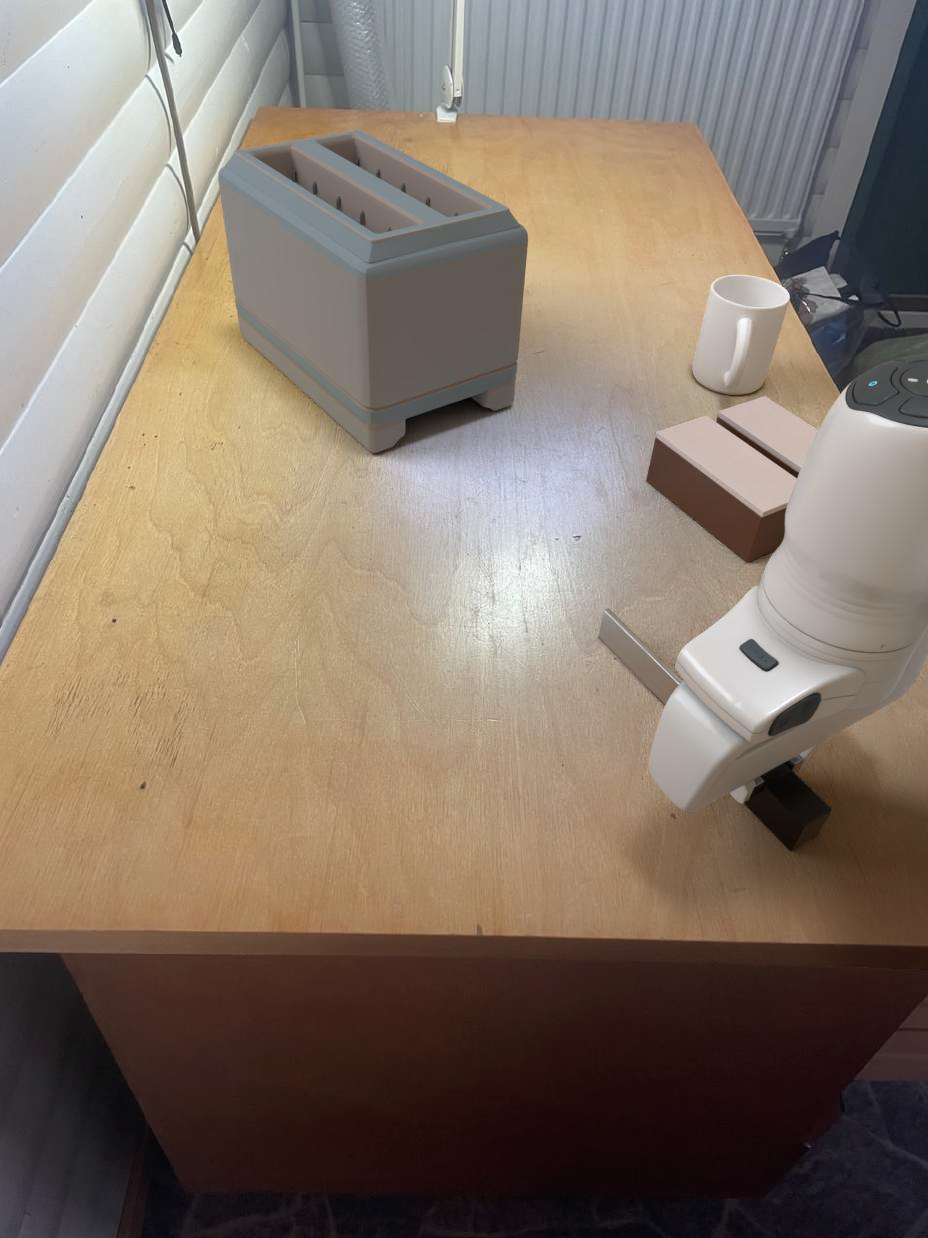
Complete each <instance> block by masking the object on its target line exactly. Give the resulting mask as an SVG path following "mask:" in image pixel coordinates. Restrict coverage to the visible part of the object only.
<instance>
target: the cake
mask: <svg viewBox="0 0 928 1238" xmlns="http://www.w3.org/2000/svg"><path fill="white" fill-rule="evenodd" d="M818 430H819V429H818V428H816V427H814V426H813V425H811V424H810V423H808V422H807V421H805V420H803V419H802V418H800V417H799V416H798V415H796V414H794V413H792V412H791V411H789V410H788V409H786V408H785V407H783V406H782V405H780V404H778V403H777V402H775V401H774V400H772V399H770V397H767V395H763V396H760V397H757V398H754V399H752V400H749V401H746V402H743V403H739V404H735V405H733V406H730V407H727V408H724V409H721V410H718V413H717V417H716V421H715V420H714V419H712V418H711V417H710V416H708V415H703V416H700V417H697V418H693V419H691V420H687V421H684V422H681V423H678V424H675V425H673V426H669V427H666V428H663V429H660V430H657V431H656V433H655V438H654V443H653V446H652V451H651V455H650V456H651V457H650V460H649V465H648V470H647V474H646V478H645V482H647V483H648V484H649V485H651V486H652V487H653V488H654V489H655V490H656V491H658V492H659V493H660V494H662V495H663V496H664V497H665V498H666V499H668V500H669V501H670V502H671V503H673V504H674V505H675V506H676V507H678V508H679V509H680V510H682V511H683V512H684V513H685V514H686V515H687V516H689V517H690V518H691V519H692V520H694V522H696V523H698V524H699V525H700V526H701V527H702V528H704V529H705V530H706V531H707V532H709V533H710V534H711V535H712V536H714V538H716V539H717V540H719V541H720V542H721V543H722V544H723V545H725V546H726V547H727V548H728V549H730V550H731V551H732V552H733V553H735V554H736V555H737V556H738V557H739V558H741V559H742V560H743V561H745V562H746V563H749V562H752V561H754V560H756V559H759V558H761V557H763V556H766V555H768V554H771V553H774V552H775V551H776V549H777V548H778V547H779V546H780V545H781V543H782V541H783V539H784V535H785V513H786V508H787V505H788V502H789V499H790V496H791V494H792V491H793V488H794V485H795V483H796V480H797V478H798V475H799V472H800V470H801V467H802V465H803V463H804V460H805V458H806V456H807V453H808V451H809V449H810V447H811V444H812V442H813V440H814V438H815V436H816V434H817V432H818Z"/></svg>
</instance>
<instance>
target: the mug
mask: <svg viewBox="0 0 928 1238" xmlns="http://www.w3.org/2000/svg"><path fill="white" fill-rule="evenodd" d="M790 295H791V294H790V293H789V291H788V290H787V289H786V287H784V286H783V285H781V284H779V283H777V282H775V281H773V280H770V279H768V278H764V277H762V276H756V275H750V274H749V275H748V274H729V275H724V276H721V277H720V276H719V277H718V278H716V279H715V280H714V281H712V283H711V285H710V288H709V292H708V297H707V301H706V305H705V310H704V314H703V319H702V323H701V326H700V327H701V328H700V331H699V336H698V340H697V344H696V348H695V353H694V357H693V362H692V374H693V377H694V378H695V380H696V381H697V383H698V384H700V385H701V386H702V387H704V388H706V389H708V390H710V391H713V392H716V393H719V394H722V395H730V396H743V395H748V394H752V393H754V392H755V391H757V390H759V389H760V388H761V387H762V386H763V385H764V383H765V381H766V379H767V377H768V373H769V370H770V367H771V364H772V360H773V356H774V354H775V350H776V348H777V344H778V341H779V337H780V333H781V330H782V327H783V323H784V320H785V318H786V317H785V316H786V314H787V310H788V306H789V303H790V299H791V296H790Z"/></svg>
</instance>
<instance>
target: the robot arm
mask: <svg viewBox="0 0 928 1238" xmlns="http://www.w3.org/2000/svg"><path fill="white" fill-rule="evenodd" d="M817 430H818V432H817V434H816V436H815V438H814V440H813V442H812V444H811V447H810V449H809V451H808V453H807V456H806V458H805V460H804V463H803V465H802V467H801V470H800V472H799V475H798V478H797V480H796V483H795V485H794V488H793V491H792V494H791V496H790V499H789V502H788V505H787V508H786V513H785V535H784V539H783V541H782V543H781V545H780V546H779V547H778V548H777V549H776V550H775V551H773V552H772V554H771V556H770V557H769V559H768V561H767V563H766V565H765V567H764V571H763V572H762V573H763V574H762V575H761V579H760V581H759V584H757V585H754V586H753V587H751V588H750V589H749V590H748V591H747V592H746V593H745V594H744V595H743V597H742V598H741V599H739V601H738V602H737V603H736V604H735V605H734V606H733V607H732V608H731V609H730V610H729V611H728V612H727V613H725V614H724V615H723V616H722V617H721V618H719V619H718V620H717V621H715V622H714V623H713V624H711V626H709V627H708V628H706V629H705V630H704V631H703V632H701V633H699V634H697V636H695V637H694V638H692V639H691V640H689V642H687V643H686V644H684V646H683V647H682V648H681V650H680V651H679V653H678V655H677V658H676V661H675V668H674V669H675V671H676V672H677V675H678V676H679V677H680V679H681V680H683V682H682V683H681V684H680V685H679V686H678V687H677V688H676V689H675V690H674V692H673V693H672V694H671V696H670V698H669V699H668V701H667V703H666V705H664V706H663V707H664V708H663V709H662V713H661V715H660V718H659V721H658V724H657V727H656V730H655V733H654V737H653V741H652V743H651V748H650V751H649V756H648V761H647V772H648V774H649V776H650V778H651V779H652V781H653V782H654V784H655V785H656V786H657V788H658V789H659V790H660V791H661V792H662V794H664V795H665V797H666V798H667V799H668V800H669V801H670V802H671V803H672V804H673V805H674V806H676V807H677V808H678V809H679V810H681V811H682V812H684V813H687V814H694V813H697V812H699V811H700V810H702V809H704V808H705V807H707V806H709V805H711V804H713V803H715V802H716V801H718V800H720V799H722V798H724V797H725V796H727V795H730V796H731V797H732V798H733V799H734V800H735V801H736V802H737V803H738V804H741V805H742V804H744V802H746V801H747V800H749V799H751V798H753V797H754V796H756V795H758V794H759V792H760V789H761V788H762V786H763V784H764V780H763V779H762V778H761V777H760V776H761V775H763V774H765V773H766V772H768V771H770V770H772V769H774V768H775V767H777V766H779V765H781V764H783V763H785V764H786V765H787V766H788V767H789V768H790V769H791V770H792V771H793V772H794V773H795V774H796V773H799V772H801V771H802V770H805V768H806V766H807V763H808V761H809V760H810V757H811V756H812V755H814V753H816V752H817V750H818V749H819V748H820V747H821V746H822V745H823V744H824V743H825V742H826V741H827V740H828V739H830V738H831V737H833V736H835V735H836V734H839V733H841V732H842V731H845V729H848V728H849V727H851V726H853V725H854V724H857V723H858V722H860V721H862V720H864V719H866V718H867V717H869V716H870V715H873V714H875V713H876V712H877V711H880V710H881V709H884V708H885V707H887V706H889V705H890V704H892V703H894V702H896V701H898V700H899V699H900V698H902V697H903V696H904V695H906V693H907V692H908V691H909V690H910V689H911V688H912V686H913V685H914V684H915V682H916V681H917V679H918V677H919V675H920V673H921V670H922V669H923V666H924V664H925V662H926V660H927V658H928V353H919V354H918V353H917V354H911V355H906V356H905V355H904V356H901V357H897V358H893V359H889V360H886V361H883V362H881V363H878V364H875V365H874V366H872V367H870V368H868V369H866V370H864V371H863V372H862V373H860V374H859V375H857V376H856V377H855V378H854V379H853V380H852V381H850V382H849V384H847V385H846V387H845V388H844V389H843V390H842V391H841V393H840V394H839V396H838V397H837V398H836V399H835V401H834V403H833V404H832V405H831V407H830V409H829V410H828V411H827V414H826V415H825V417H824V418H823V420H822V421H821V423H820V426H819V428H818V429H817Z"/></svg>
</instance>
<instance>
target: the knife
mask: <svg viewBox="0 0 928 1238" xmlns="http://www.w3.org/2000/svg"><path fill="white" fill-rule="evenodd" d="M598 639H600V641H602V643H604V645H606V647H607V648H609V650H610V651H611V652H612V653H613V654H614V655H615V656H616V657H617V658H618V659H619V660H620V661H621V662H622V663H623V664H624V665H625V666H626V667H627V668H628V669H629V670H630V671H631V672H632V673H633V675H634V676H636V677H637V678H638V679H639V680H640V681H641V682H642V683H643V684H644V686H646V688H647V689H649V690H650V692H651V693H652V694H654V695H655V697H656V698H657V699H658V700H659V701H660V702H661V704H663V705H664V706H665V705H666V703H667V701H668V699H669V698H670V696H671V694H672V693H673V692H674V690H675V689H676V688H677V687H678V686H679V685H680V684H681V683H682V682H683V681H684V680H683V679H682V678H681V677H680V676H679V675H678V674H676V672H675V671H674V670H672V668H670V667H669V665H667V663H665V661H663V660H662V659H661V658H660V657H659V656H658V654H656V652H654V651H653V650H652V649H651V648H650V647H649V646H648V645H647V644H646V643H645V642H644V641H643V640H642V639H641V638H640V637H639V636H638V635H637V634H636V633H635V632H634V631H633V630H632V629H631V628H629V627H628V626H627V625H626V623H624V622H623V620H622V619H620V618H619V616H617V614H615V612H614V611H612V610H611V609H610V608H609V607H607V608H605V609H603V612H602V617H601V621H600V627H599V633H598ZM760 777H761V778H762V779H763V780H764V784H763V786H762V788H761V789H760V792H759V794H758V795H756V796H754V797H753V798H751V799H749V800H747V801H746V802H744V803H743V804H744V805H745V806H746V807H747V809H748V810H750V811H751V813H753V814H754V815H755V817H756V818H757V819H758V820H759V821H760V822H761V823H762V824H763V825H764V826H765V827H766V828H767V829H768V830H769V831H770V832H771V833H772V834H773V835H774V836H775V837H776V838H777V839H778V841H779V842H780V843H781V844H782V845H783V846H784V847H785V848H786V849H787V850H788V851H789V852H791V853H792V852H794V851H795V850H796V849H799V848H800V847H801V846H803V845H805V844H807V843H808V842H810V841H811V840H813V839H814V838H816V837H818V836H819V835H820V833H821V831H822V829H823V828H824V826H825V824H826V823H827V820H828V819H829V817H830V816H831V813H832V812H833V808H832V807H831V806H830V805H829V804H828V803H827V802H826V801H824V800H823V798H821V797H820V796H819V794H817V793H816V792H815V791H814V790H813V789H812V787H810V786H809V785H808V784H807V783H806V782H805V781H804V780H803V779H802V778H800V776H799V775H798V774H796V773H794V772H793V771H792V770H791V769H790V768H789V767H788V766H787V765H786V764H785V763H783V764H781V765H779V766H777V767H775V768H774V769H772V770H770V771H768V772H766V773H765V774H763V775H761V776H760Z"/></svg>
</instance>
